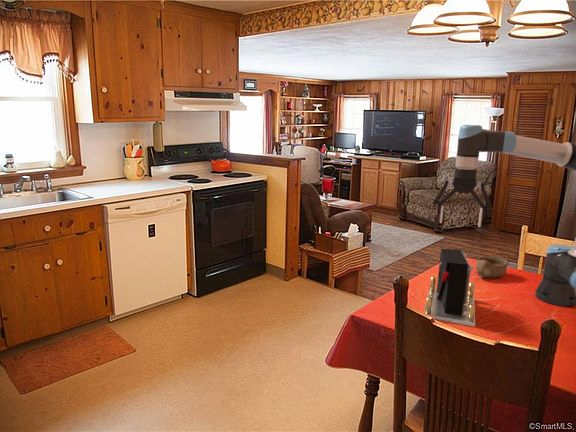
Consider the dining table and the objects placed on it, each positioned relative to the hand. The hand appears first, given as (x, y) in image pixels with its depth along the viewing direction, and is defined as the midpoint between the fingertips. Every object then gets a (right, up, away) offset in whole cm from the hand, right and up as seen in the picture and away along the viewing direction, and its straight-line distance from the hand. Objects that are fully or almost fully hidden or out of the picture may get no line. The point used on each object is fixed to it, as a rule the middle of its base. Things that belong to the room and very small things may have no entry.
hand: (459, 224), depth 169 cm
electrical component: (-1, -32, +8) cm, 33 cm away
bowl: (+30, -26, +43) cm, 59 cm away
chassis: (-1, -33, +8) cm, 34 cm away
